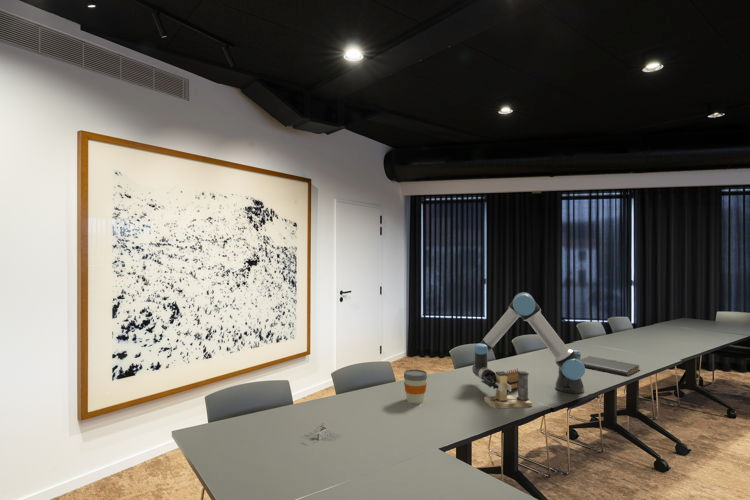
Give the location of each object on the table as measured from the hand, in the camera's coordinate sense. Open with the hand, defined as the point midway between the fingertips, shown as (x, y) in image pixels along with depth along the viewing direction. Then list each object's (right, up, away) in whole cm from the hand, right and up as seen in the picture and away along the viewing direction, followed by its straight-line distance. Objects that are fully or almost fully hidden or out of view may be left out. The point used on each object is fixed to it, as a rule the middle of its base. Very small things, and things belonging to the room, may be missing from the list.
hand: (506, 388), depth 216 cm
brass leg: (-1, -7, +5) cm, 9 cm away
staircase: (-92, -10, -36) cm, 99 cm away
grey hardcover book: (+94, -11, +76) cm, 121 cm away
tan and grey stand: (+3, -10, +6) cm, 11 cm away
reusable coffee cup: (-46, -10, +10) cm, 48 cm away
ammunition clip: (+12, -10, +27) cm, 32 cm away
